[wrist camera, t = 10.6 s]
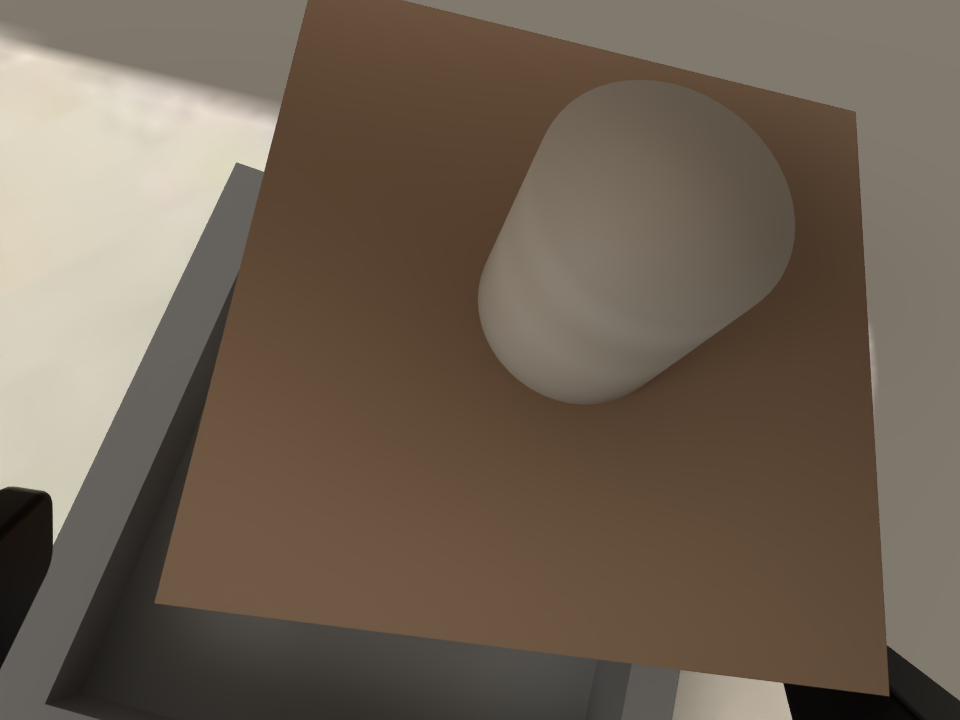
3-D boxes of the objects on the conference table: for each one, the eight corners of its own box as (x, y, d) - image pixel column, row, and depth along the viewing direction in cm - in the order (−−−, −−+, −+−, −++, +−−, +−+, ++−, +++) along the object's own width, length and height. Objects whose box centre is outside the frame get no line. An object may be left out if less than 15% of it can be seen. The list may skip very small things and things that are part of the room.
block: (489, 638, 16) (1122, 730, 3) (280, 610, 16) (66, 598, 3) (511, 437, 18) (1006, -32, 5) (321, 405, 17) (308, -229, 4)
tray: (581, 881, 16) (634, 936, 13) (23, 725, 15) (-46, 752, 12) (679, 375, 20) (736, 337, 18) (249, 227, 19) (236, 162, 17)
